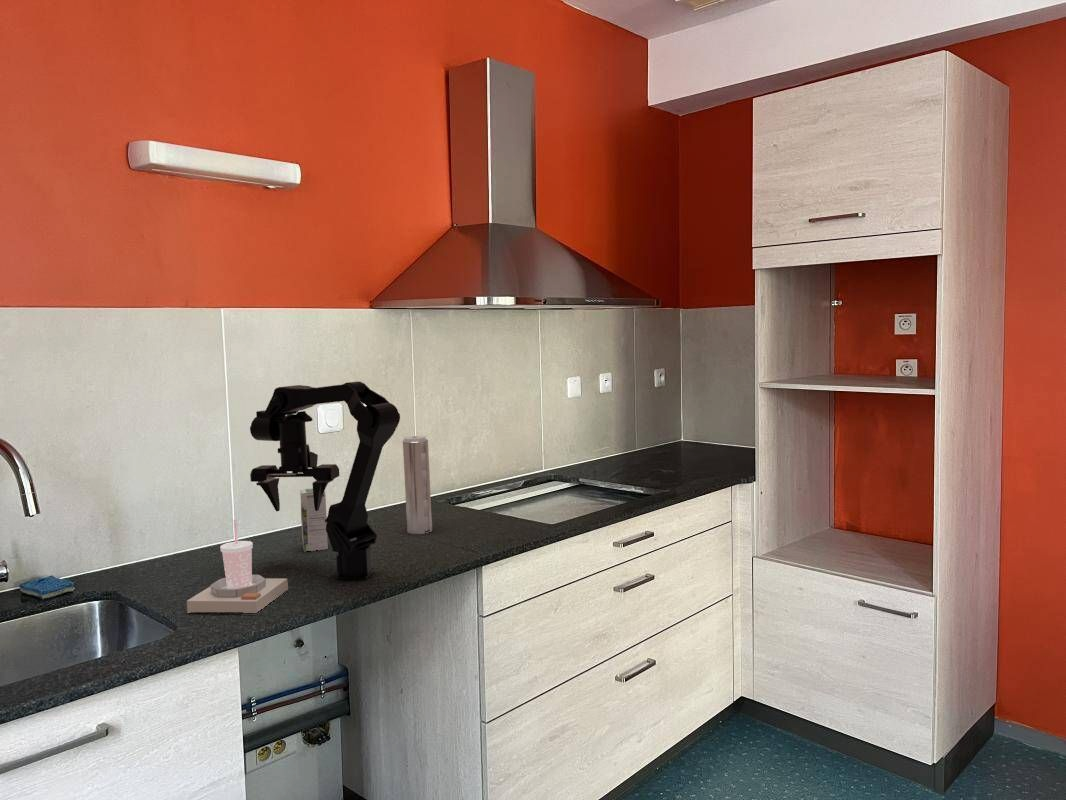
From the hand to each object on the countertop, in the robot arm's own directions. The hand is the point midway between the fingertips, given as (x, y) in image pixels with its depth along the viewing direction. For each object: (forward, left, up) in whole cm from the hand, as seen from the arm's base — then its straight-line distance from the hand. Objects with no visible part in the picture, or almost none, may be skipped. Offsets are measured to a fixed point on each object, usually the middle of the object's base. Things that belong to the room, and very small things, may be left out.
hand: (297, 510), depth 183 cm
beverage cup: (+3, +23, -11) cm, 25 cm away
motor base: (+3, +23, -13) cm, 27 cm away
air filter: (-19, -32, -13) cm, 39 cm away
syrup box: (+3, -16, -13) cm, 21 cm away
